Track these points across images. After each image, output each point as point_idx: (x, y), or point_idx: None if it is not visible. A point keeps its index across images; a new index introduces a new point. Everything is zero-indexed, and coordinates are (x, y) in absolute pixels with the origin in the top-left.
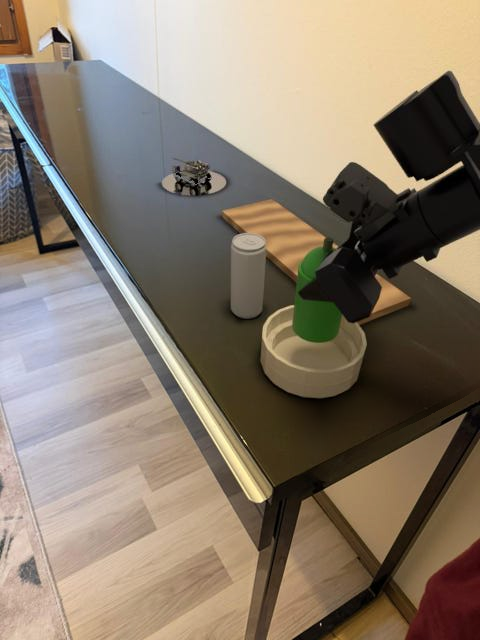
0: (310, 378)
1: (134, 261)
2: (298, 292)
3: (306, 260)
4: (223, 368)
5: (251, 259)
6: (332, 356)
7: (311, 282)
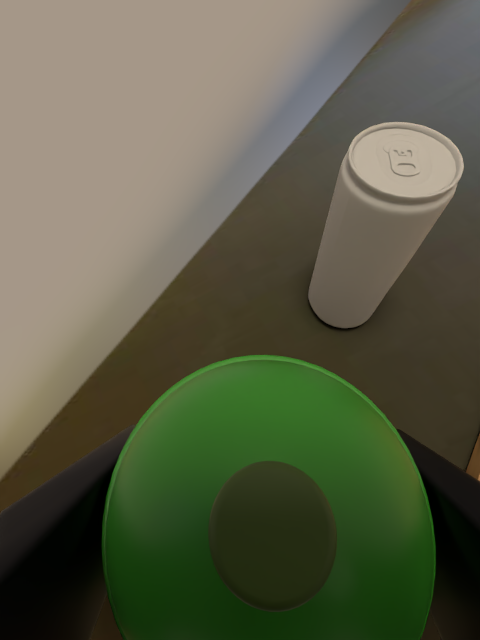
0: None
1: (341, 103)
2: (128, 427)
3: (184, 388)
4: (168, 340)
5: (352, 210)
6: None
7: (17, 502)
